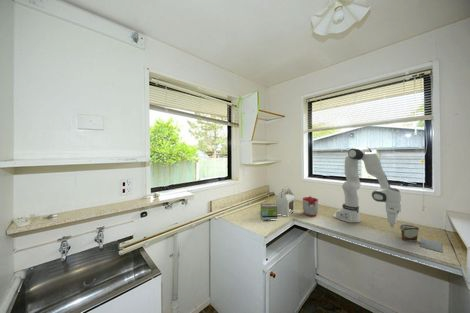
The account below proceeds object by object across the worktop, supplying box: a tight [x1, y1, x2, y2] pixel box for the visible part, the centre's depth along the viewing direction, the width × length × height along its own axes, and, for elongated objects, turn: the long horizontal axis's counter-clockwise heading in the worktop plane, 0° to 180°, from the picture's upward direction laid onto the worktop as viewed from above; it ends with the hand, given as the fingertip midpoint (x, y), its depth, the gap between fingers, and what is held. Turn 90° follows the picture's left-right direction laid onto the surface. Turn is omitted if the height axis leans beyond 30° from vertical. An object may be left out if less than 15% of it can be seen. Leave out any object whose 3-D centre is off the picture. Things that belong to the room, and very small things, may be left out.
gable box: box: [275, 186, 296, 217], centre depth 188 cm, size 22×13×28 cm, turn 143°
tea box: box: [260, 202, 278, 221], centre depth 172 cm, size 15×10×15 cm, turn 91°
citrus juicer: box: [301, 195, 319, 217], centre depth 180 cm, size 16×17×20 cm
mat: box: [419, 237, 443, 253], centre depth 120 cm, size 10×16×1 cm, turn 131°
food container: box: [399, 224, 420, 242], centre depth 129 cm, size 12×6×10 cm, turn 92°
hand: (392, 225), depth 135 cm, fingers open, 8 cm apart
